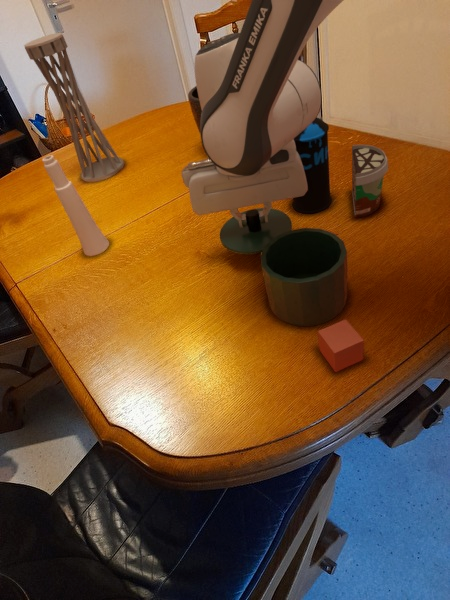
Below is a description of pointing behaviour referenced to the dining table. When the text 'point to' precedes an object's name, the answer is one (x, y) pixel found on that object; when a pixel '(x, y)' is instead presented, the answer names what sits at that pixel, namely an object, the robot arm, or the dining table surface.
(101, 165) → the lattice tower
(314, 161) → the aerosol can
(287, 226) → the lid
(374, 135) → the dining table surface
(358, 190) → the food container
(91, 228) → the cosmetic bottle
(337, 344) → the block
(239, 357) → the dining table surface
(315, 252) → the tin
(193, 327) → the dining table surface
